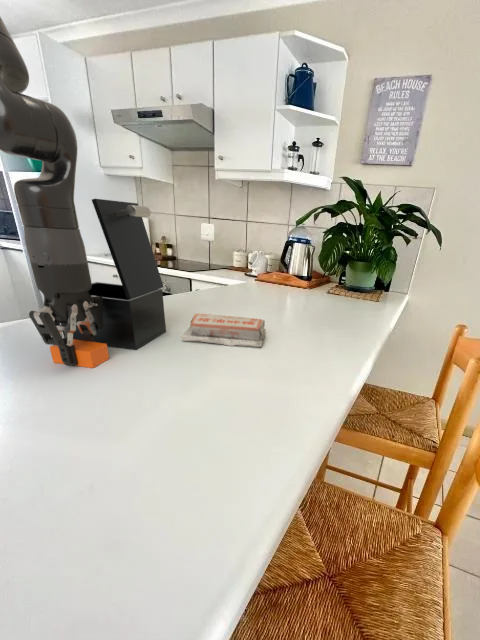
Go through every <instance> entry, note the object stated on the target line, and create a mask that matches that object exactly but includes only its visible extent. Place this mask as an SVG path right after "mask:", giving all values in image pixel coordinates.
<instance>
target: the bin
mask: <svg viewBox="0 0 480 640" xmlns="http://www.w3.org/2000/svg"><path fill="white" fill-rule="evenodd" d="M91 283H92V288H91V289H90V290H89V291H88V292H89V294H90V295H92V296H101V297H102V298H103V327H102V329H98V330H97V334H96V335H95V336H96V341H97V342H98V343H105V344H107V347H110V348H111V347H112V348H118V349H127V350H133V351H137V350H139V349H140V348H142V347H143V346H145V345H147V344H149V343H151V342H152V341H154V340H156V339H158V338H159V337H160V336H162V335H163V334H165V333H166V332H167V324H166V315H165V305H164V303H165V302H164V294H163V293H164V292H163V289H162V288H160V289H157V290H154V291H151V292H148V293H145V294H142V295H139V296H136V297H134V298H130V299H127V297H126V294H125V291H124V288H123V286H122V284H118V283H109V282H100V281H95V282H91ZM93 318H94V320H95V322H96V315H93ZM60 324H61V323H60ZM67 325H68V324H61V326H67ZM85 326H86V325H85ZM81 335H83V334H82V333H81V332H80V330H79V328H78V326H77V325H76V331H75V332H74V333H73V339H75V340H82V338H81ZM62 336H63V338H65V332H64V331H63V332H62Z"/></svg>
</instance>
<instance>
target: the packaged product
mask: <svg viewBox="0 0 480 640" xmlns="http://www.w3.org/2000/svg"><path fill="white" fill-rule="evenodd" d="M265 326H266V324H265V320H264V319H261V318H251V317H243V316H232V315H231V316H230V315H221V314H210V313H194V314H193V317H192V319H191V320H190V324H189V328H187V329H186V330H185V331H184V332H183V333H182V335H180V340H181V341H182V342H198V343H200V342H201V343H210V344H217V345H218V344H219V345H225V346H229V347H230V346H231V347H232V346H233V347H234V346H238V347H239V346H240V347H250V348H251V347H253V348H262V346H263V343H264V341H265V337H266V333H267V331H266V328H265Z"/></svg>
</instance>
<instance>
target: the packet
mask: <svg viewBox="0 0 480 640" xmlns="http://www.w3.org/2000/svg"><path fill="white" fill-rule="evenodd" d="M73 345H75V351H76V355H77V360H78V364H77V365H76V367H83V368H89V369H94V368H96V367H98V366H99V365H101V364H103V363H104V362H106V361H108V360H110V354H109V349H108V346H107V344H105V343H98V342H90V341H82V340H75V339H73ZM49 351H50V354H51V358H52V362H53V363H54V364H61V365H65V364H64V363H63V361H62V359H61V355H60V351H59V347H58V346H57V345H50V346H49Z"/></svg>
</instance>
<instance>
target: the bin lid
mask: <svg viewBox="0 0 480 640" xmlns="http://www.w3.org/2000/svg"><path fill="white" fill-rule="evenodd" d="M91 203H92V205H93V209H94V212H95V214H96V216H97V219H98V222H99V224H100V228H101V231H102V233H103V236H104V238H105V241H106V244H107V247H108V250H109V253H110V255H111V259H112V261H113V263H114V266H115V269H116V272H117V275H118V278H119V280H120V284H121V285H122V286H123V288H124V291H125V294H126V297H127V299H130V298H134V297H136V296H139V295H142V294H145V293H148V292H151V291H154V290H157V289H162V288H164V283H163V281H162V277H161V274H160V270H159V268H158V264H157V261H156V258H155V254H154V251H153V248H152V245H151V241H150V238H149V234H148V232H147V228H146V226H145V223H144V219H143V218H149V217H150V216H151V210H150V208H149V207H148V206H143V205H139V203H137V202H136V203H135V202H129V201H119V200H112V199H103V198H102V199H101V198H93V199H91Z"/></svg>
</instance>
